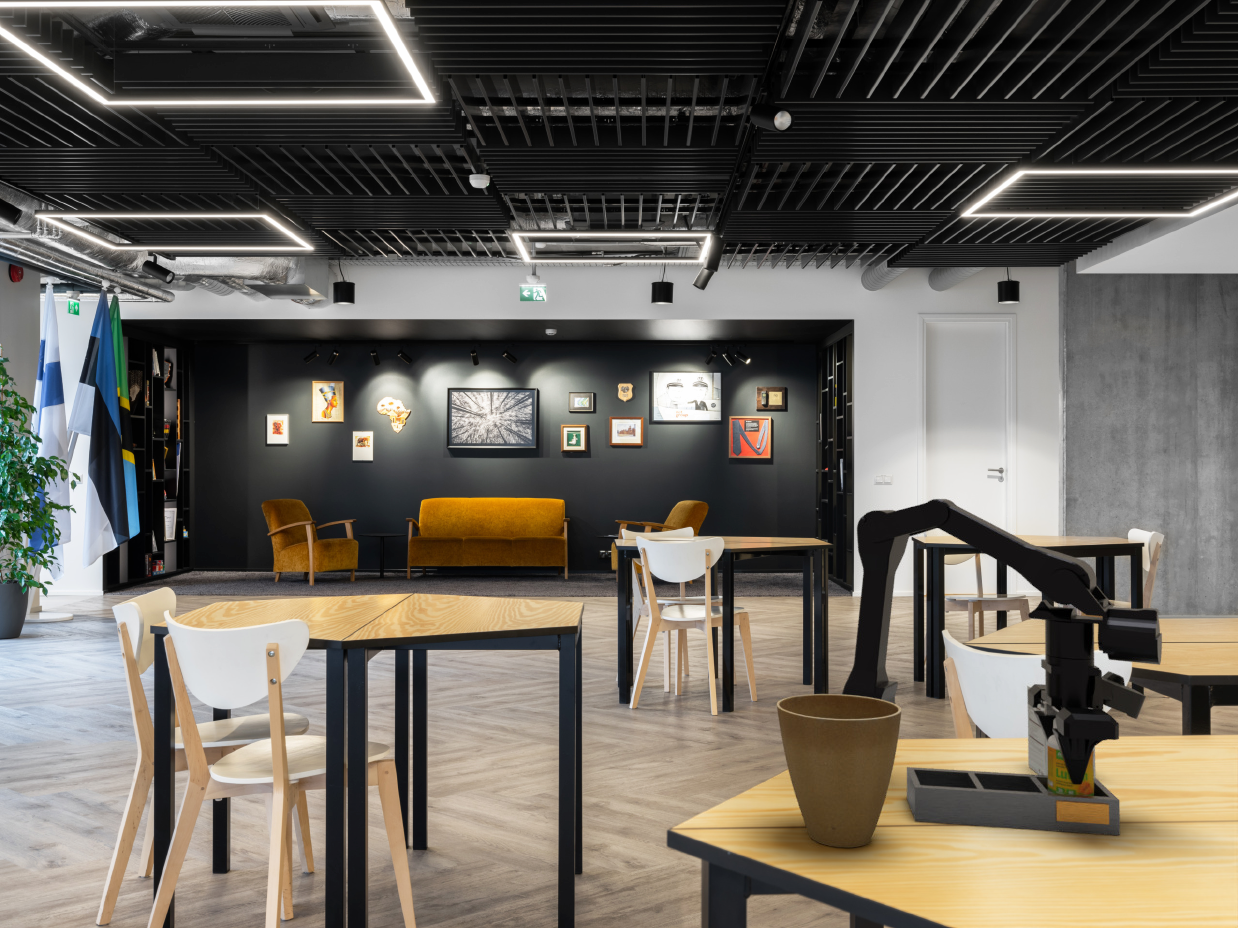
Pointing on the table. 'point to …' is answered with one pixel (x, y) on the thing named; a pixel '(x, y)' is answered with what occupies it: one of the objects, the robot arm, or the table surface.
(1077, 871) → the table surface
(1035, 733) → the supplement box
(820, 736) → the plant pot
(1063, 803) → the compartment organizer tray
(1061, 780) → the supplement bottle
